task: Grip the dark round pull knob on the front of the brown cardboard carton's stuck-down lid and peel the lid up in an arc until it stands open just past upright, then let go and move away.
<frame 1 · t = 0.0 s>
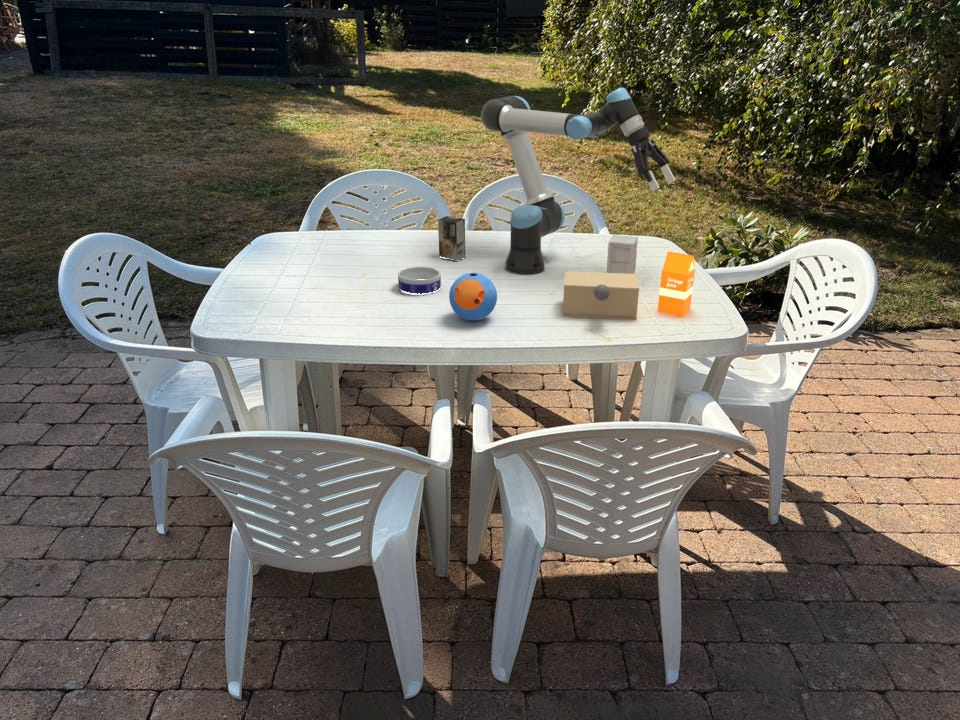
hand: (664, 186, 268), 36 cm above the table, tool tilted 35°, fingers open, 13 cm apart
carton lid: (601, 282, 251), point 12 cm above the table, hinge at 0.0°
treat dispenser ball: (473, 319, 253), on the table
supplement box: (620, 283, 284), on the table
carton: (598, 310, 260), on the table
orange juice: (673, 311, 260), on the table
dog bowl: (419, 289, 279), on the table
coffee box: (452, 258, 311), on the table
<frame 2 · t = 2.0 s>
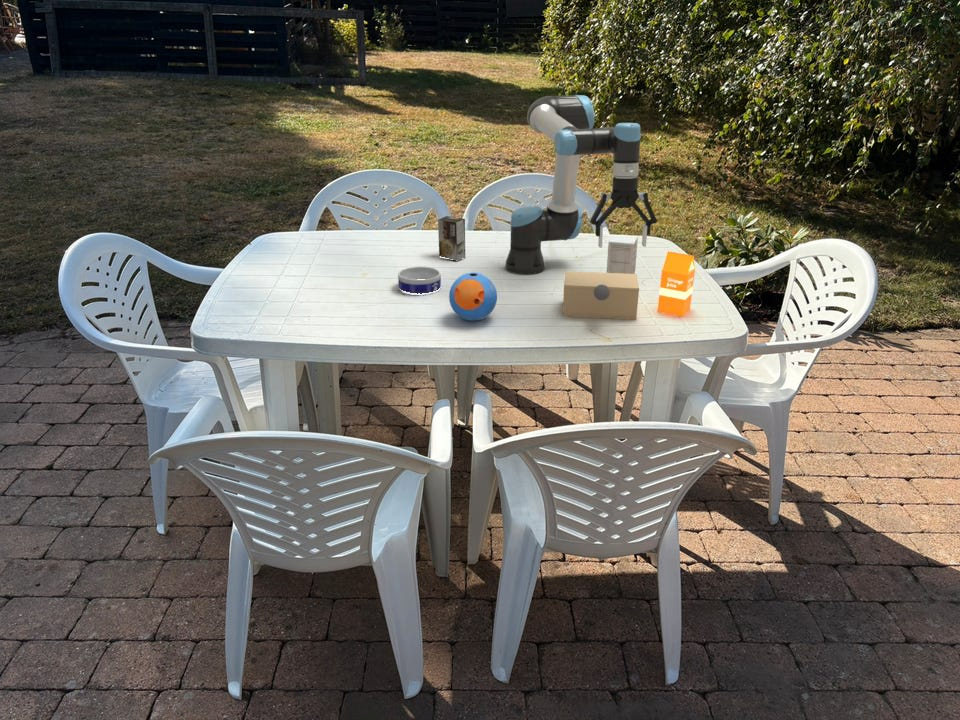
hand: (622, 246, 240), 25 cm above the table, tool pointing down, fingers open, 13 cm apart
nothing on the table moved.
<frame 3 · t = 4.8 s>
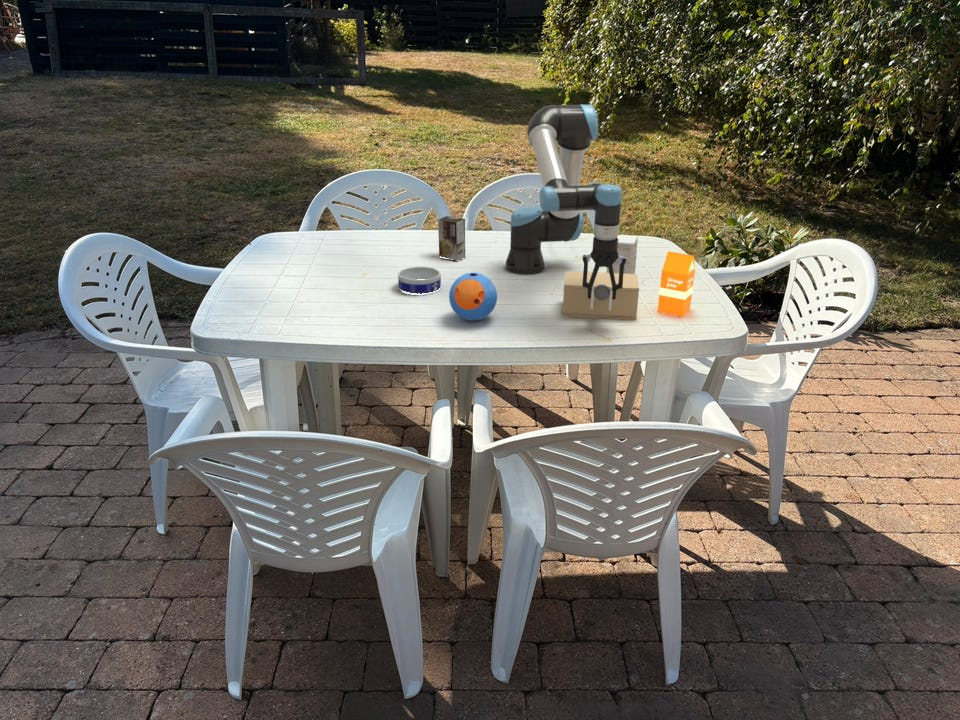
hand: (600, 308, 245), 6 cm above the table, tool pointing down, fingers closed on carton lid, 5 cm apart
carton lid: (601, 282, 251), point 11 cm above the table, hinge at 0.0°, touching gripper
everything else where it was.
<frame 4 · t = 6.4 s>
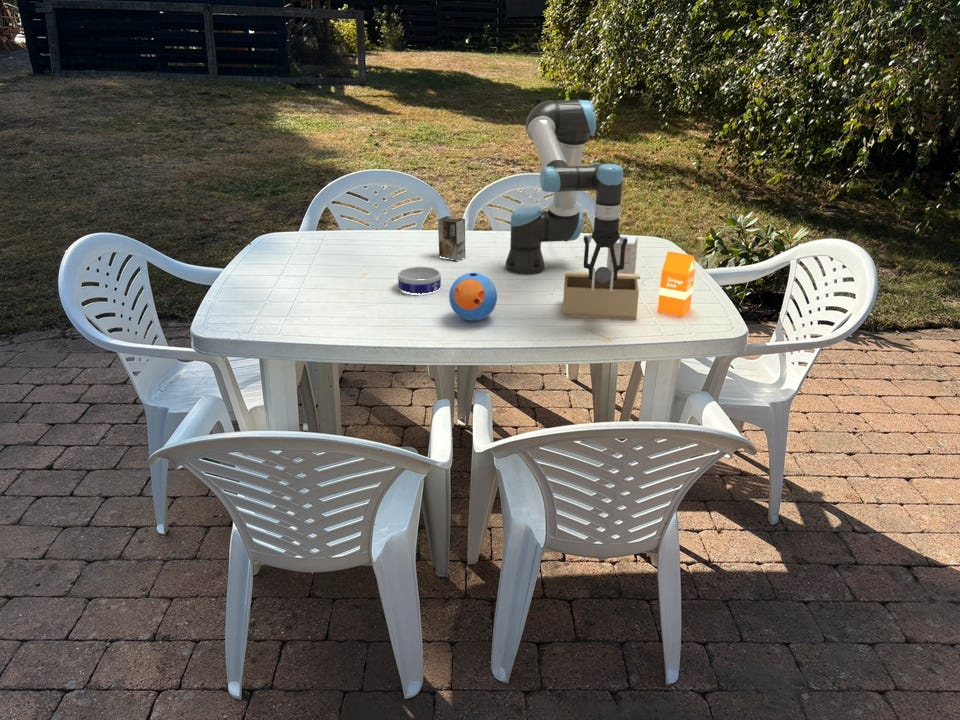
hand: (601, 289, 244), 12 cm above the table, tool pointing down, fingers closed on carton lid, 5 cm apart
carton lid: (602, 272, 250), point 15 cm above the table, hinge at 15.3°, touching gripper
everything else where it was.
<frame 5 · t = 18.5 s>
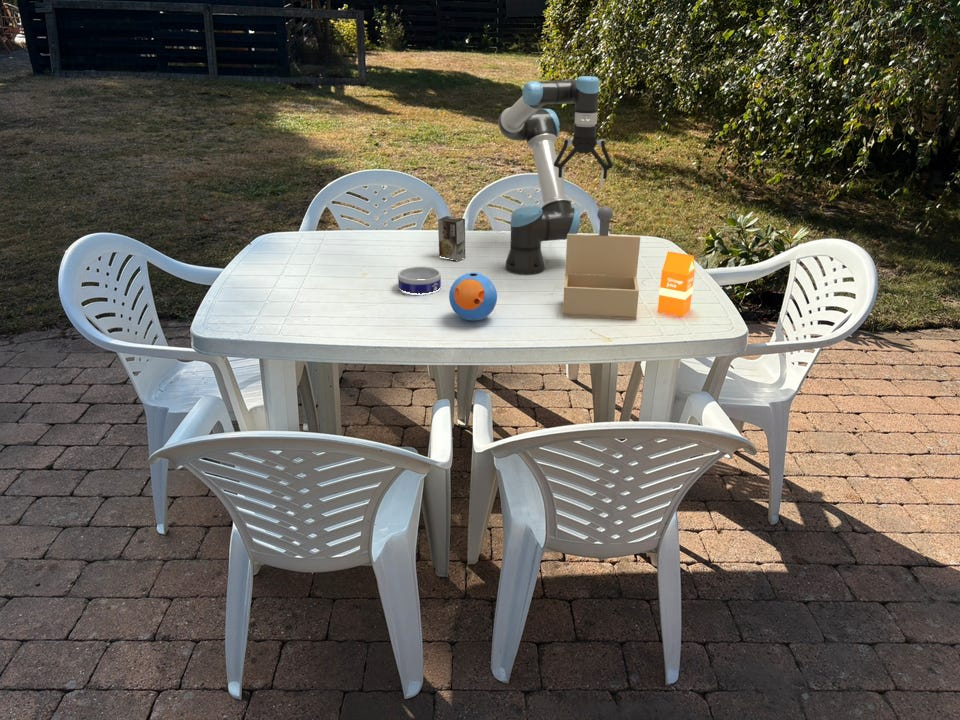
hand: (581, 187, 271), 35 cm above the table, tool pointing down, fingers open, 13 cm apart
carton lid: (603, 240, 258), point 22 cm above the table, hinge at 85.8°
everything else where it was.
at the end: carton lid at +86° (first picture: +0°); the gripper is holding nothing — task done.
